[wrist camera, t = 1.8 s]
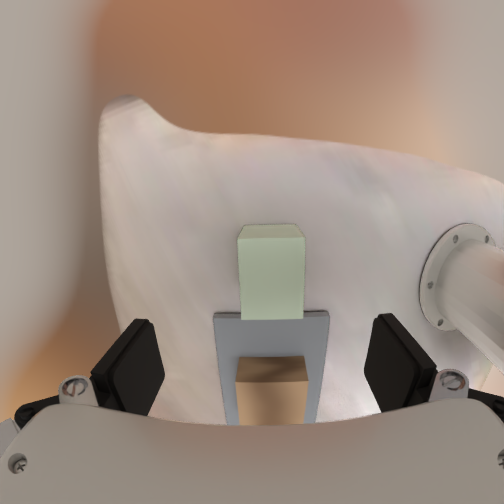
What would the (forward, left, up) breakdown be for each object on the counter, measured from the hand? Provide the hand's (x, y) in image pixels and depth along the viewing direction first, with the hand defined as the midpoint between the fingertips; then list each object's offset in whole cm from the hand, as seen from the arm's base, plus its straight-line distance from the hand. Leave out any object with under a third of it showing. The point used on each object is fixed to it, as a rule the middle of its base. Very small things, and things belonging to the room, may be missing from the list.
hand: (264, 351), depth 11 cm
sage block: (0, 0, -14) cm, 14 cm away
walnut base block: (0, +14, -14) cm, 20 cm away
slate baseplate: (0, +14, -14) cm, 20 cm away
